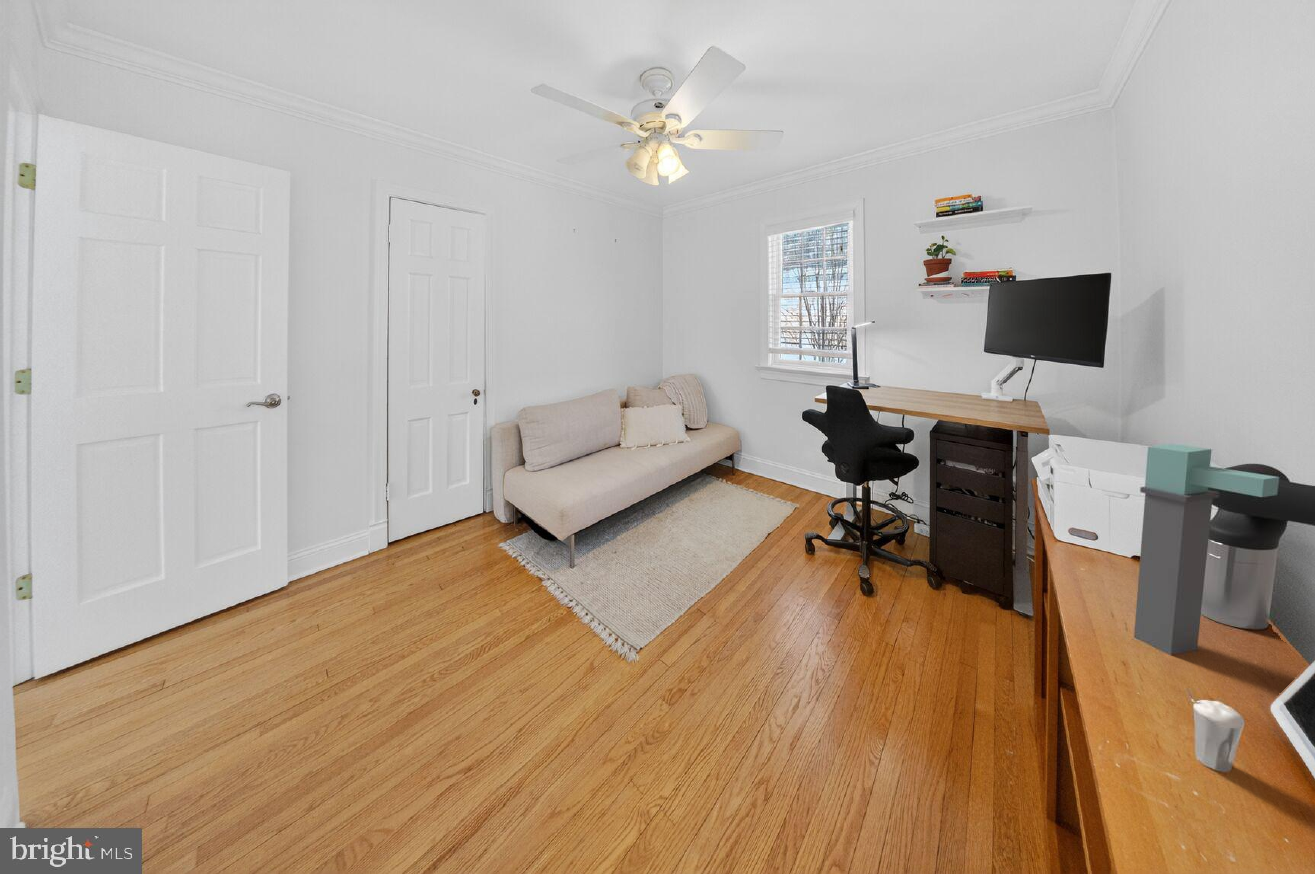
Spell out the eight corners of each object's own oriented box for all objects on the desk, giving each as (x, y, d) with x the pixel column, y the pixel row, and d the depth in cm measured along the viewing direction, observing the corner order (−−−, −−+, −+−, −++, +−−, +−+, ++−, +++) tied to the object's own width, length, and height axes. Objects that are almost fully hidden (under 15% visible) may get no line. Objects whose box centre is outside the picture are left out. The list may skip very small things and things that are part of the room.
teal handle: (1144, 486, 87) (1148, 446, 86) (1166, 483, 88) (1170, 443, 87) (1255, 509, 73) (1260, 462, 71) (1280, 505, 73) (1286, 458, 72)
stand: (1129, 636, 92) (1140, 487, 87) (1158, 630, 93) (1171, 482, 88) (1171, 657, 85) (1186, 497, 80) (1202, 651, 86) (1219, 492, 81)
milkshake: (1185, 740, 68) (1191, 682, 67) (1242, 766, 64) (1250, 704, 62) (1175, 754, 66) (1181, 695, 65) (1233, 782, 62) (1241, 718, 60)
